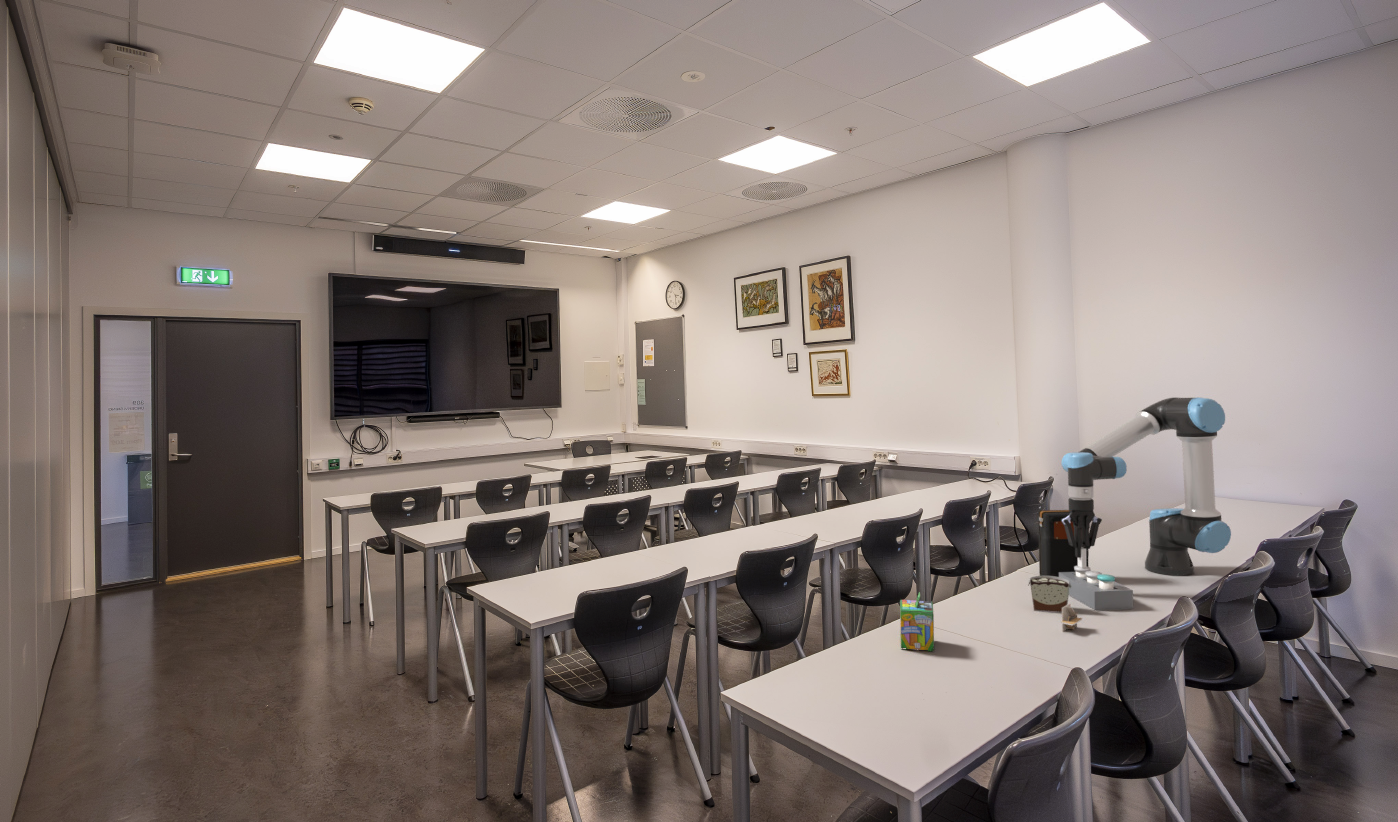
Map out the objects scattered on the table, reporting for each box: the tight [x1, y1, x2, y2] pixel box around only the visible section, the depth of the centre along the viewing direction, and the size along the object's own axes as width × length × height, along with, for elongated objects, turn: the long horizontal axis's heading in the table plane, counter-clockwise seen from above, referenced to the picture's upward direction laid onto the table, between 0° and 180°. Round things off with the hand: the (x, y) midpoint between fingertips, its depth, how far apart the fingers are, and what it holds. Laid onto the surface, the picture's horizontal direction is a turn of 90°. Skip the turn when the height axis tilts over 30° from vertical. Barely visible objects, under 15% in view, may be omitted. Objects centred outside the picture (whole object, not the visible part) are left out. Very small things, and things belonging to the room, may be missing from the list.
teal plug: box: [1097, 573, 1116, 590], centre depth 220 cm, size 5×5×8 cm
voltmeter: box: [1037, 509, 1089, 577], centre depth 250 cm, size 16×9×25 cm, turn 84°
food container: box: [1027, 575, 1071, 614], centre depth 219 cm, size 12×6×10 cm, turn 71°
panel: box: [1059, 572, 1134, 611], centre depth 227 cm, size 12×22×6 cm, turn 179°
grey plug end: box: [1074, 566, 1091, 577], centre depth 234 cm, size 5×5×8 cm
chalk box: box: [899, 591, 935, 652], centre depth 194 cm, size 9×9×15 cm
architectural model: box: [1061, 603, 1083, 632], centre depth 200 cm, size 3×7×7 cm, turn 130°
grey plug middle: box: [1086, 570, 1103, 583], centre depth 227 cm, size 5×5×8 cm
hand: (1082, 566), depth 234 cm, fingers closed
